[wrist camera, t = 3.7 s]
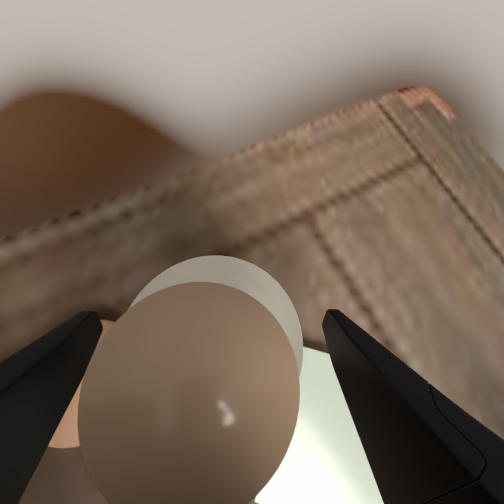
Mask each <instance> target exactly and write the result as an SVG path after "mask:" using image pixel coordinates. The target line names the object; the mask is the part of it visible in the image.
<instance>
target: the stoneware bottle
mask: <svg viewBox="0 0 504 504" xmlns="http://www.w3.org/2000/svg"><path fill="white" fill-rule="evenodd" d="M302 362H303V338H302V331H301V326H300V322H299V319H298V316H297V313H296V310H295V308H294V306H293V304H292V302H291V300H290V298H289V297H288V295H287V294H286V292H285V291H284V289H283V288H282V287H281V286H280V284H279V283H278V282H277V281H276V280H275V279H274V278H273V277H272V276H270V275H269V274H268V273H266V272H265V271H264V270H262V269H261V268H259V267H257V266H256V265H254V264H252V263H249V262H247V261H245V260H242V259H238V258H234V257H229V256H221V255H210V256H201V257H196V258H192V259H188V260H185V261H183V262H180V263H178V264H176V265H174V266H172V267H170V268H168V269H166V270H165V271H163V272H162V273H160V274H159V275H158V276H156V277H155V278H154V279H153V280H152V281H151V282H149V283H148V284H147V285H146V286H145V287H144V289H143V290H142V291H141V292H140V293H139V294H138V296H137V297H136V299H135V300H134V301H133V303H132V304H131V306H130V308H129V310H127V311H126V312H125V313H124V314H123V315H122V316H121V317H120V318H119V319H118V320H117V321H116V322H115V323H114V324H113V325H112V326H111V328H110V329H109V330H108V331H107V333H106V334H105V336H104V337H103V338H102V340H101V341H100V343H99V345H98V346H97V348H96V350H95V352H94V354H93V355H92V358H91V360H90V362H89V365H88V367H87V369H86V372H85V375H84V379H83V382H82V386H81V390H80V396H79V402H78V416H77V426H78V437H79V443H80V448H81V452H82V457H83V459H84V462H85V465H86V467H87V470H88V473H89V474H90V476H91V478H92V480H93V482H94V483H95V485H96V487H97V488H98V490H99V491H100V492H101V493H102V495H103V496H104V497H105V498H106V500H107V501H108V502H109V503H111V504H247V503H249V502H250V501H251V500H252V499H253V498H254V497H256V496H257V495H258V494H259V492H260V491H261V490H262V489H263V488H264V487H265V486H266V485H267V483H268V482H269V481H270V479H271V478H272V477H273V475H274V474H275V472H276V471H277V469H278V468H279V466H280V464H281V462H282V460H283V459H284V457H285V455H286V453H287V450H288V448H289V445H290V443H291V440H292V438H293V434H294V431H295V427H296V423H297V418H298V411H299V402H300V383H299V377H300V374H301V368H302Z"/></svg>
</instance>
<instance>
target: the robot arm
mask: <svg viewBox="0 0 504 504" xmlns="http://www.w3.org/2000/svg"><path fill="white" fill-rule="evenodd" d="M322 328H323V332H324V336H325V339H326V343H327V347H328V351H329V355H330V358H331V362H332V365H333V368H334V371H335V374H336V376H337V379H338V382H339V384H340V387H341V390H342V393H343V395H344V398H345V401H346V403H347V406H348V409H349V411H350V414H351V417H352V419H353V422H354V425H355V427H356V430H357V433H358V436H359V438H360V441H361V444H362V446H363V449H364V452H365V454H366V457H367V460H368V462H369V465H370V468H371V471H372V473H373V476H374V479H375V481H376V484H377V487H378V489H379V492H380V495H381V497H382V500H383V503H384V504H504V440H503V439H502V438H500V437H499V436H498V435H496V434H495V433H494V432H492V431H491V430H489V429H488V428H487V427H485V426H484V425H483V424H481V423H480V422H479V421H477V420H476V419H475V418H473V417H472V416H471V415H469V414H468V413H467V412H465V411H464V410H463V409H461V408H460V407H459V406H457V405H456V404H455V403H454V402H452V401H451V400H450V399H449V398H447V397H446V396H445V395H443V394H442V393H441V392H440V391H439V390H437V389H436V388H435V387H434V386H432V385H431V384H428V382H427V381H426V380H425V379H424V378H422V377H421V376H420V375H419V374H417V373H416V372H415V371H414V370H412V369H411V368H410V367H409V366H407V365H406V364H405V363H404V362H402V361H401V360H400V359H399V358H398V357H396V356H395V355H394V354H393V353H391V352H390V351H389V350H388V349H386V348H385V347H384V346H383V345H381V344H380V343H379V342H378V341H376V340H375V339H374V338H373V337H372V336H370V335H369V334H368V333H367V332H365V331H364V330H363V329H362V328H360V327H359V326H358V325H357V324H355V323H354V322H353V321H352V320H350V319H349V318H348V317H347V316H345V315H344V314H343V313H342V312H341V311H339V310H337V309H328V310H327V311H326V314H325V317H324V320H323V323H322ZM102 331H103V325H102V322H101V320H100V318H99V316H98V314H97V312H95V311H83V312H80V313H79V314H77V315H76V316H74V317H72V318H71V319H69V320H68V321H66V322H64V323H63V324H61V325H60V326H58V327H56V328H55V329H53V330H52V331H50V332H48V333H47V334H45V335H43V336H42V337H40V338H39V339H37V340H35V341H34V342H32V343H31V344H29V345H27V346H26V347H24V348H23V349H21V350H19V351H18V352H16V353H15V354H13V355H11V356H10V357H8V358H7V359H5V360H3V361H2V362H0V504H18V502H19V500H20V498H21V496H22V495H23V493H24V491H25V489H26V487H27V485H28V483H29V481H30V479H31V477H32V475H33V473H34V471H35V470H36V468H37V466H38V464H39V462H40V460H41V458H42V456H43V454H44V452H45V450H46V448H47V447H48V445H49V443H50V441H51V439H52V437H53V435H54V433H55V431H56V429H57V427H58V425H59V423H60V422H61V420H62V418H63V416H64V414H65V412H66V410H67V408H68V406H69V404H70V402H71V400H72V399H73V397H74V395H75V393H76V391H77V389H78V387H79V385H80V383H81V381H82V379H83V377H84V375H85V372H86V369H87V367H88V365H89V362H90V360H91V358H92V355H93V354H94V351H95V349H96V346H97V344H98V341H99V339H100V336H101V334H102Z"/></svg>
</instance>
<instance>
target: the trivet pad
mask: <svg viewBox="0 0 504 504" xmlns="http://www.w3.org/2000/svg"><path fill="white" fill-rule="evenodd" d="M299 383H300V402H299V411H298V418H297V423H296V427H295V431H294V434H293V438H292V440H291V443H290V445H289V448H288V450H287V453H286V455H285V457H284V459H283V460H282V462H281V464H280V466H279V468H278V469H277V471H276V472H275V474H274V475H273V477H272V478H271V479H270V481H269V482H268V483H267V485H266V486H265V487H264V488H263V489H262V490H261V491H260V492H259V494H258V495H257V496H256V497H254V500H255V502H256V503H260V504H384V503H383V500H382V497H381V495H380V492H379V489H378V487H377V484H376V481H375V479H374V476H373V473H372V471H371V468H370V465H369V462H368V460H367V457H366V454H365V452H364V449H363V446H362V444H361V441H360V438H359V436H358V433H357V430H356V427H355V425H354V422H353V419H352V417H351V414H350V411H349V409H348V406H347V403H346V401H345V398H344V395H343V393H342V390H341V387H340V384H339V382H338V379H337V376H336V374H335V371H334V368H333V365H332V362H331V358H330V355H329V353H327V352H323V351H320V350H317V349H313V348H310V347H306V346H303V362H302V368H301V374H300V377H299Z"/></svg>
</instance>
